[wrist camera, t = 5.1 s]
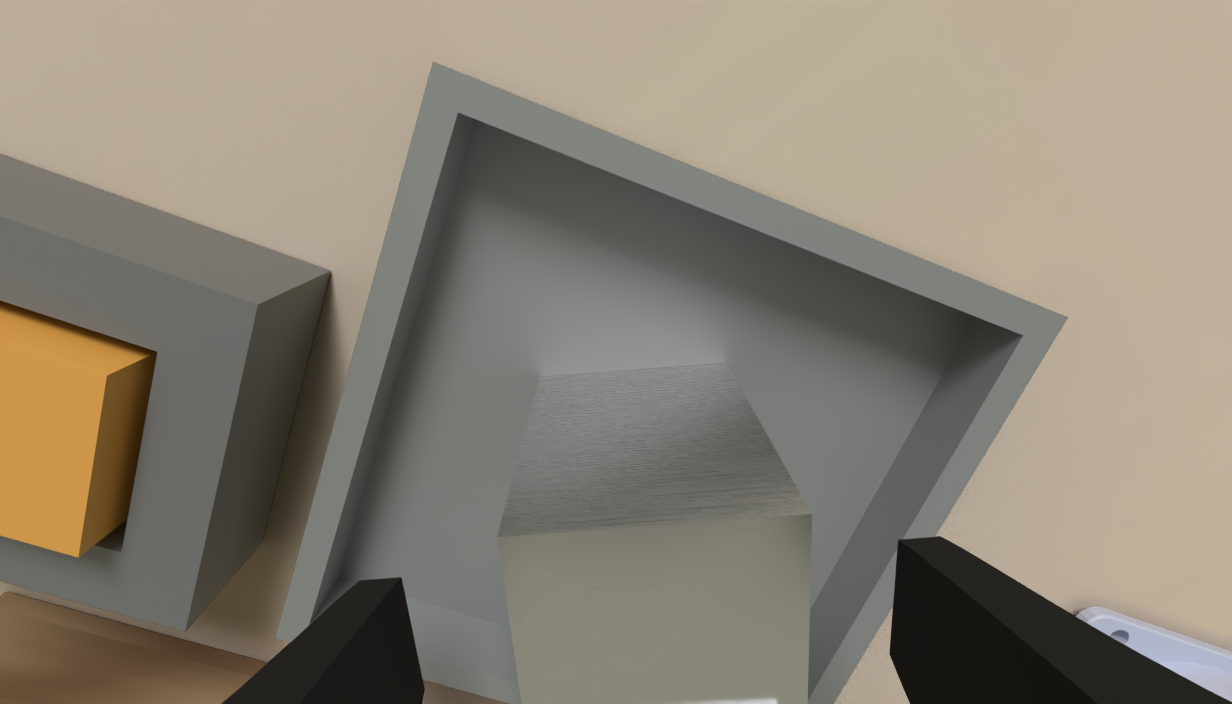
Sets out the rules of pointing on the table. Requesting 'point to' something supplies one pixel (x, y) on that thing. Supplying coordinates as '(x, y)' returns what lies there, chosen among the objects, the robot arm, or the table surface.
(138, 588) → the button housing
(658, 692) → the block
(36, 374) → the button
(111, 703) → the wooden pocket board
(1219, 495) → the table surface
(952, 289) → the tray
